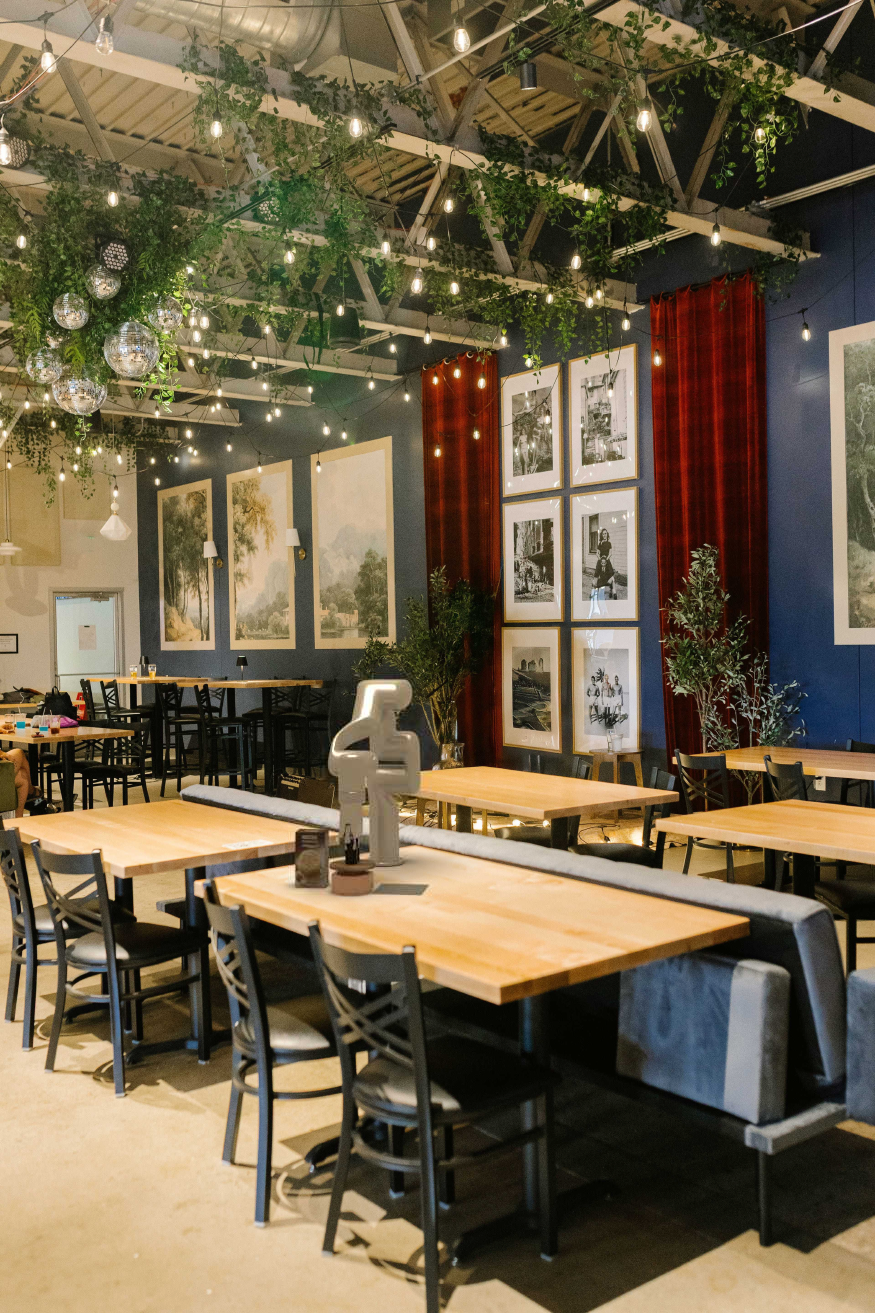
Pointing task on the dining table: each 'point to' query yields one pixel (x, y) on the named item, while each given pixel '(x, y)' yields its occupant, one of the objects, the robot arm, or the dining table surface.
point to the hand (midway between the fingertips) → (352, 862)
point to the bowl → (352, 882)
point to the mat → (401, 889)
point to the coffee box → (312, 858)
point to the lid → (352, 865)
